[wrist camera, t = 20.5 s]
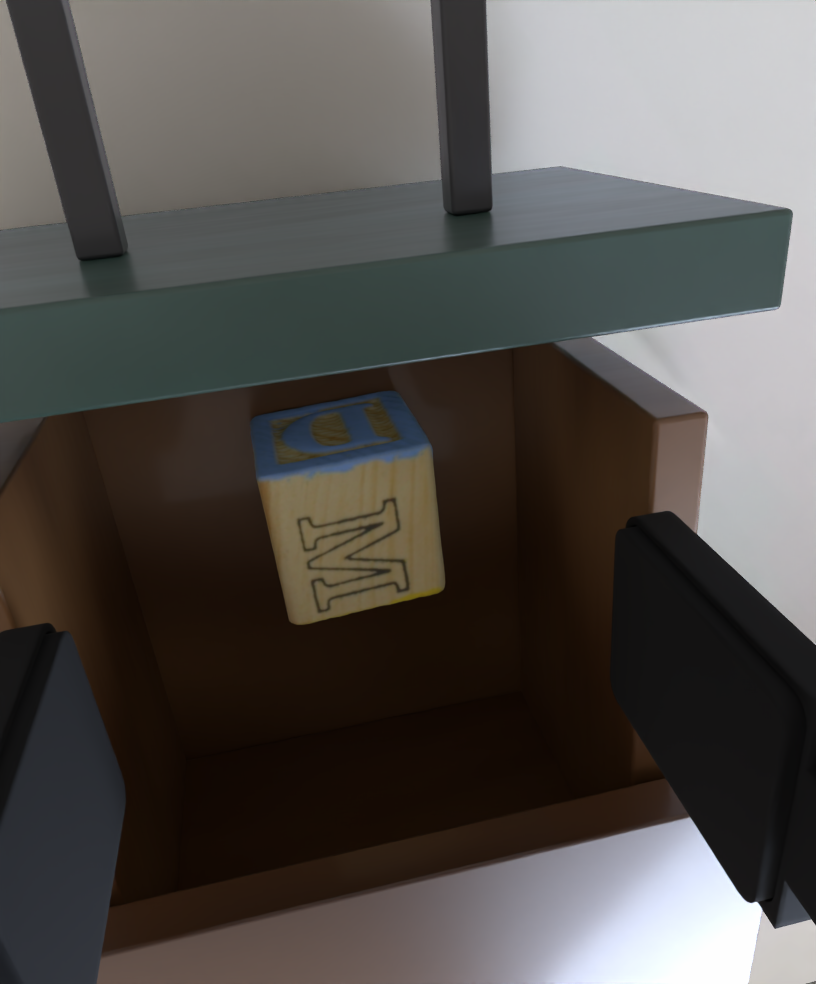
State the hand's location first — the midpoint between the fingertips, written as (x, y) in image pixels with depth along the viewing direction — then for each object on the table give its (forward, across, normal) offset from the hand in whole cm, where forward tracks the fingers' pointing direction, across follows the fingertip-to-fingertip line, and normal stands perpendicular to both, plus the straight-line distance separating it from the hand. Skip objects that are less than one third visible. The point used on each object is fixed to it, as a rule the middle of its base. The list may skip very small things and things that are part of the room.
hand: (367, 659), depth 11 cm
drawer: (+7, 0, -1) cm, 7 cm away
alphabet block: (+6, 0, 0) cm, 6 cm away
